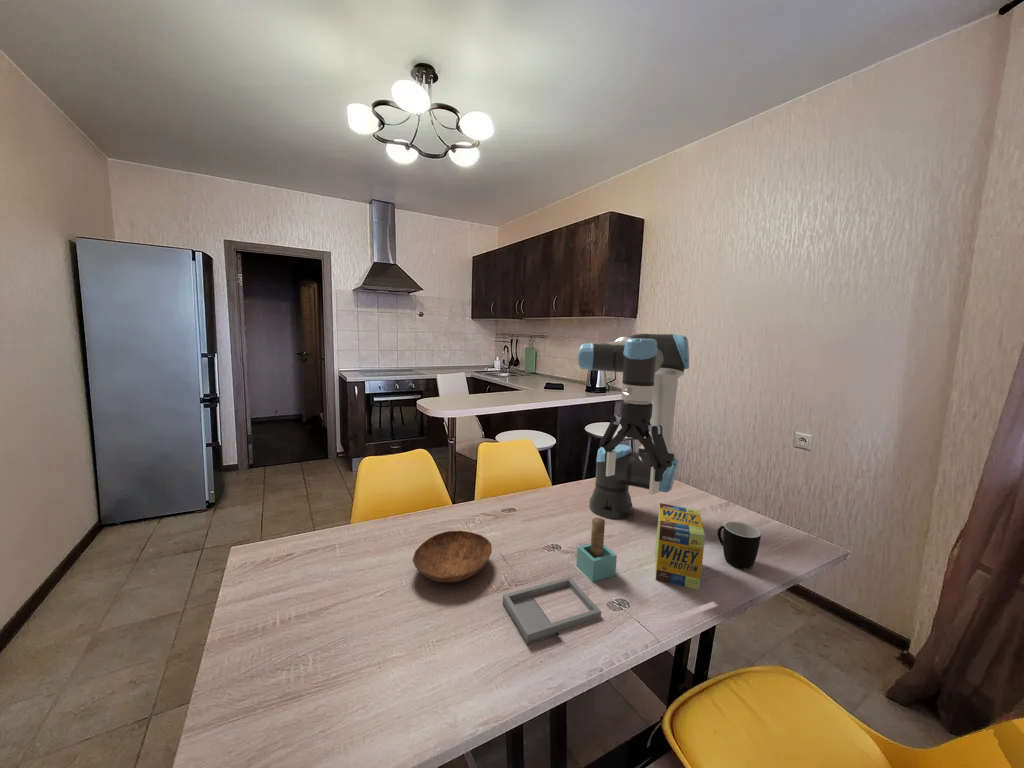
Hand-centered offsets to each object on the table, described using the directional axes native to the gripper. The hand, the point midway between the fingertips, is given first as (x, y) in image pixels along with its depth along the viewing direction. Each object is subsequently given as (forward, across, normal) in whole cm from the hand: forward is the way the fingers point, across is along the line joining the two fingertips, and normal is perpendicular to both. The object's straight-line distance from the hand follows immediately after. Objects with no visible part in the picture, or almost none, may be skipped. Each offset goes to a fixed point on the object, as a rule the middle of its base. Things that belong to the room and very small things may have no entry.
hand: (630, 483), depth 100 cm
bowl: (+26, -27, -36) cm, 52 cm away
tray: (+25, 0, -25) cm, 36 cm away
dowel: (+24, -5, -6) cm, 25 cm away
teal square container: (+25, -5, -6) cm, 26 cm away
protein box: (+26, +6, +13) cm, 29 cm away
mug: (+25, +12, +33) cm, 43 cm away
